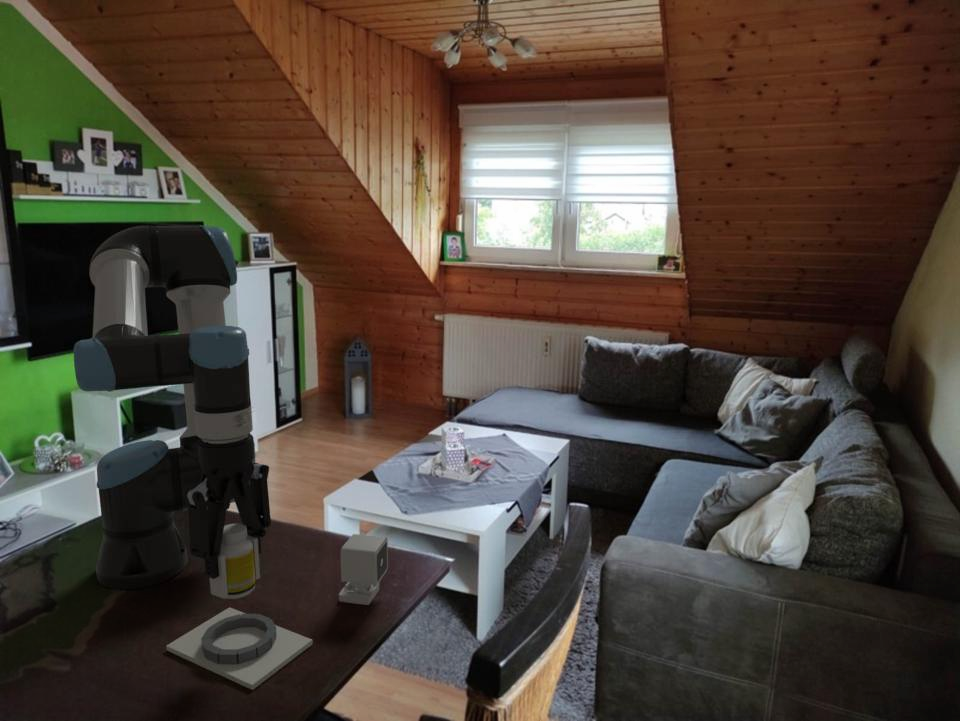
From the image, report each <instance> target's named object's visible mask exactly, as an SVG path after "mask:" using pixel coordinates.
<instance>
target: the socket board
mask: <svg viewBox="0 0 960 721" xmlns="http://www.w3.org/2000/svg"><path fill="white" fill-rule="evenodd" d="M313 644H314V642H313V639H312V638H309V637H306V636H304V635H301V634H299V633H297V632H293V631H292V630H289V629H286V628H284V627H281V626H278V625H276V624H275V622H274V620H273V619H272V618H270V617H268V616H265V615H263V614H260V613H246V612H243V611H240V610H238V609H235V608H232V607H231V606H229V607H228V608H225V609H224V610H223V611H220V612H219V613H218V614H216V615H214V616H213V617H211V618H210V619H208V620H206V621H205V622H203V623H201V624H199V625H198V626H196V627H194V628H193V629H192V630H189V631H188V632H185V633H184V634H183V635H182V636H180V637H178V638H176V639H175V640H173V641H172V642H170V643H169V644H168V643H167V645H166V646H165V647H166V651H168V652H170V653H171V654H174V655H175V656H177V657H180V658H182V659H184V660H187V661H188V662H190V663H194V664H195V665H197V666H200V667H201V668H205V669H206V670H208V671H211V672H213V673H214V674H217V675H219V676H222V677H223V678H225V679H227V680H230V681H232V682H235V683H237V684H238V685H240V686H243V687H245V688H247V689H249V690H252V691H253V690H255V689H256V688H257V687H259V686H260V685H261V684H263V683H264V682H266V681H267V680H268V679H269V678H271V677H272V676H273V675H275V674H277V672H278V671H280V669H283V668H284V667H285V666H286V665H288V664H289V663H290V662H291V661H293V660H294V659H296V658H297V657H298V656H299V655H301V654H302V653H303V652H305V651H306V650H307V649H308V648H310V647H311V646H312V645H313Z"/></svg>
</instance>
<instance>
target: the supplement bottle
mask: <svg viewBox="0 0 960 721" xmlns="http://www.w3.org/2000/svg"><path fill="white" fill-rule="evenodd" d="M220 553H221V554H224V555H225V561H226V575H227V588H228V597H226V598H225V599H228V600H229V599H231V600H232V599H234V600H235V599H239V598H240V599H241V598H243V597H245V596H248V595H249V594H251V593H252V592H253V591H254V590H255V588H256V580H255V569H254V554H253V544H252V542H251V540H249V539H248V538H247V527H246V526H245V525H243V524H242V523H230V524H226V525H225V524H224V530H223V536H222V543H221V550H220Z"/></svg>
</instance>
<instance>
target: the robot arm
mask: <svg viewBox="0 0 960 721" xmlns="http://www.w3.org/2000/svg"><path fill="white" fill-rule="evenodd" d="M233 250H234V249H233V246H232V242H231V239H230V237H229V235H228V233H227V232H226V230H225V229H223V228H222V227H219V226H209V225H202V224H198V225H138V226H131V227H129V228H126V229H123V230H120V231H119V232H116V233H114V234H113V235H111V236H110V237H108V238H107V239H106V240H105V241H104V242H102V243H101V244H100V246H99V247H97V249H96V250H95V252H94V253H93V255H92V258H91V260H90V264H89V278H90V281H91V284H92V285H93V286H94V302H93V304H94V305H93V320H92V321H93V323H92V337H90V338H89V339H88V338H87V339H81V340H79V341H76V342H75V344H73V346H74V347H73V366H74V375H75V379H76V384H77V386H78V388H79V389H80V390H82V391H84V392H110V393H111V392H114V391H121V390H131V389H142V388H151V387H166V386H175V385H176V386H177V385H183V392H184V404H185V414H186V415H185V416H186V426H187V427H186V429H185V430H184V431H183V433H182V434H181V435H180V436H179V447H174V448H169V445H168V444H167V442H166V441H164V440H160V439H155V440H152V439H149V440H142V441H136V442H131V443H128V444H125V445H122V446H119V447H117V448H114V449H112V450H111V451H109V452H107V453H106V454H105V455H103V456H102V457H101V458H100V459H99V460H98V463H97V465H96V478H97V481H96V488H97V489H98V495H99V503H100V504H99V506H100V514H101V524H102V525H101V526H102V532H103V533H102V534H103V536H102V541H101V543H100V544H101V545H100V549H99V553H98V559H97V561H96V563H95V571H96V579H97V582H98V583H99V584H100V585H102V586H103V587H105V588H108V589H114V590H133V589H140V588H141V589H142V588H145V587H150V586H154V585H156V584H160V583H162V582H166V581H168V580H169V579H172V578H173V577H175V576H176V575H178V574H179V573H181V572H182V571H183V570H184V569H185V567H186V566H187V564H188V562H189V561H188V552H187V550H188V549H187V547H186V545H185V542H184V540H183V539H182V536H181V535H180V533H179V531H178V529H177V526H176V525H175V521H174V520H175V518H174V513H176V512H183V511H187V512H188V514H187V515H188V529H189V530H188V531H189V532H188V533H189V551H190V556H193V557H196V558H199V559H202V560H203V561H204V570H205V576H206V577H207V578H209V586H210V595H213V596H216V597H217V598H221V599H227V598H226V597H228V588H227V575H226V561H225V555H224V554H221V553H220V550H221V543H222V536H223V530H224V526H225V523H226V517H227V511H228V510H229V508H230V507H231V504H232V503H235V506H236V510H237V511H238V512H237V513H238V514H239V517H240V521H241V524H243V525H245V526H246V527H247V538H248V539H249V540H251V542H252V544H253V554H254V569H255V581H257V580H259V579H260V578H261V571H260V570H261V569H260V556H259V555H261V553H262V541H261V540H262V539H261V538H264V537H265V536H266V535H267V530H264V529H265V528H267V529H268V528H269V527H270V526H271V524H272V520H271V519H272V518H271V510H270V509H271V508H270V498H269V497H270V496H269V485H268V477H269V472H270V467H269V465H267V464H264V463H263V464H262V463H260V462H259V463H258V462H256V449H255V448H256V447H255V446H256V445H255V441H254V440H255V439H254V436H253V435H252V434H251V433H252V431H253V414H252V413H253V412H252V411H253V410H252V399H251V388H250V369H249V368H250V366H249V362H250V361H249V356H250V349H249V347H248V340H247V339H248V338H247V332H246V331H245V330H244V329H243V328H242V327H239V326H232V325H227V324H226V317H225V316H226V315H225V305H224V301H225V300H226V299H227V298H228V297H229V295H231V286H234V285H236V284H237V281H238V272H237V266H236V265H237V264H236V259H235V255H234V254H235V253H234V251H233ZM147 288H165V291H166V292H165V294H166V297H167V298H168V299H169V300H170V301H172V303H174V305H175V308H176V309H175V310H176V316H177V317H176V319H177V327H178V328H177V330H178V333H177V334H176V333H174V334H159V335H158V334H157V335H148V334H149V332H148V331H149V330H148V318H147V308H146V307H147V306H146V290H145V289H147Z"/></svg>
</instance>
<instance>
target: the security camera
mask: <svg viewBox="0 0 960 721" xmlns="http://www.w3.org/2000/svg"><path fill="white" fill-rule="evenodd" d="M388 542H389V541H388V537H387V536H385V537H384V536H379V535H378V536H377V535H367V534H358V533H357V534H356V533H353V534H352V535H351V536H350V537H349V538H348V540H346V542H345V543H344V544H343V545H342V546H341V548H340V576H341V582H342V583H345V582H346V584H345V585H344V587H343V588H342V589H341V590H340V591H339V593H338V601H339V602H340V603H349V604H356V605H366V606H369V605H370V604H371V602H372V601H373V600H374V599H375V596H376V595H377V594H378V593H379V590H380V583H381V580H382V579H383V578H384V576H385V575H386V573H387V571H388V569H389V550H388V548H389V547H388V546H389V545H388V544H389V543H388Z"/></svg>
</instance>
